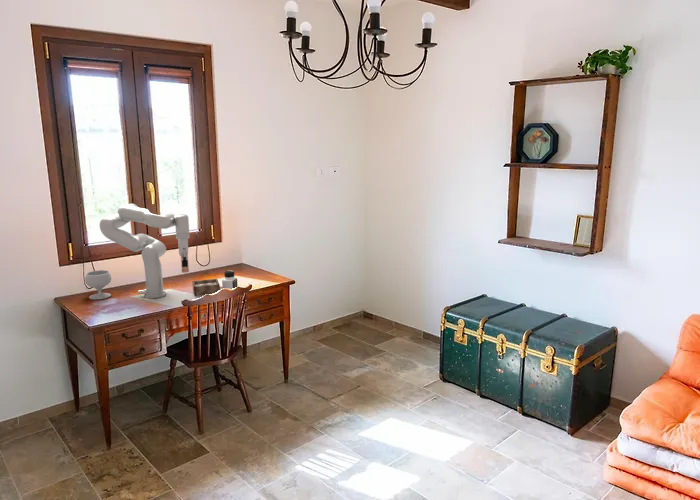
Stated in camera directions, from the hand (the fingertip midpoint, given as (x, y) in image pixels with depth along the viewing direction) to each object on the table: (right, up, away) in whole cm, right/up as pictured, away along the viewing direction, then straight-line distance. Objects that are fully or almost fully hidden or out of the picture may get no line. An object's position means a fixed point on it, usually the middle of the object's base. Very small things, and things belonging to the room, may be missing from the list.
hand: (184, 265), depth 300 cm
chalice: (-52, -19, +3) cm, 55 cm away
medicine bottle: (+23, -16, +17) cm, 33 cm away
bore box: (+10, -17, +12) cm, 23 cm away
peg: (0, -4, +1) cm, 4 cm away
